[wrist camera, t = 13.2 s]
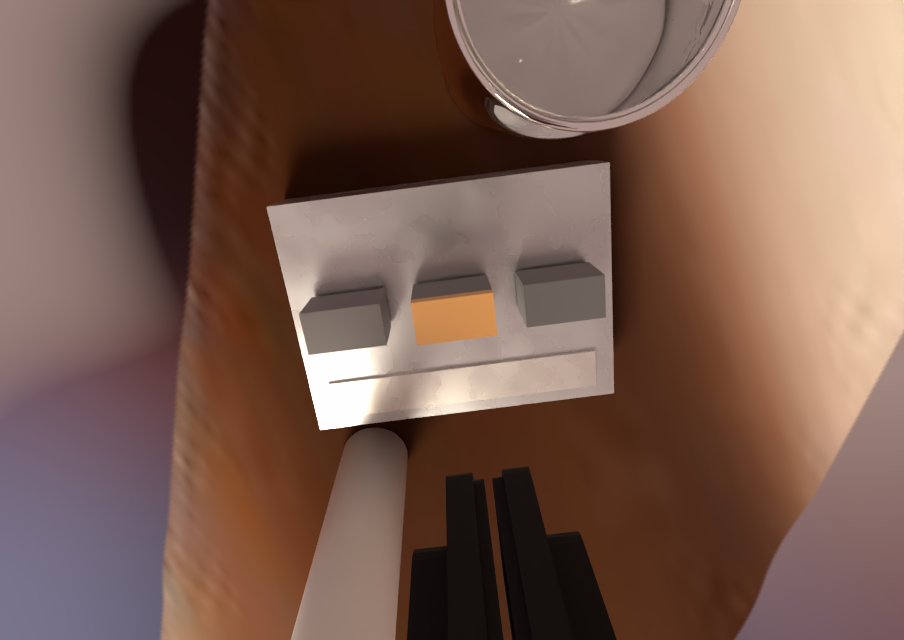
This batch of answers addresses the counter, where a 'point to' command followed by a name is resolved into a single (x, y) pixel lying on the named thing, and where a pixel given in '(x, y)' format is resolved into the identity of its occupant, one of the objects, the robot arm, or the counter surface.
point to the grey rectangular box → (346, 321)
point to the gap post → (359, 545)
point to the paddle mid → (453, 310)
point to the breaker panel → (445, 258)
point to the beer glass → (573, 59)
